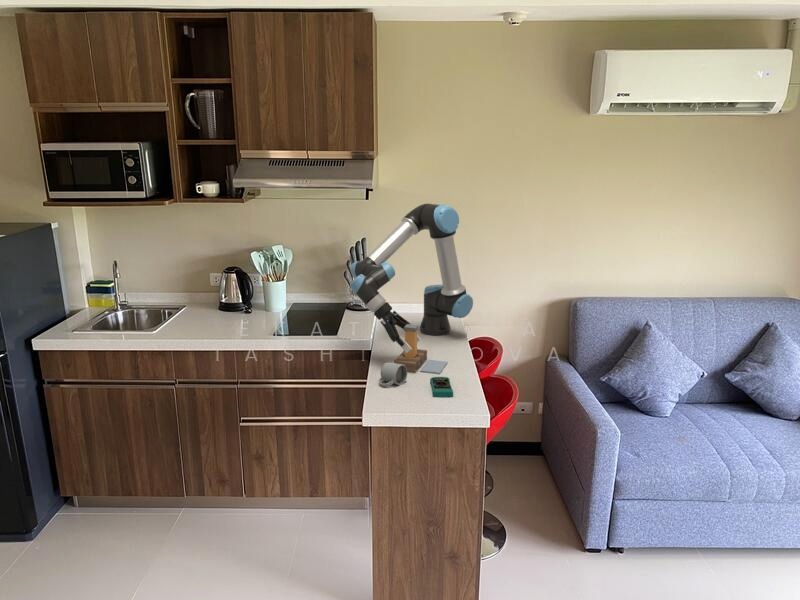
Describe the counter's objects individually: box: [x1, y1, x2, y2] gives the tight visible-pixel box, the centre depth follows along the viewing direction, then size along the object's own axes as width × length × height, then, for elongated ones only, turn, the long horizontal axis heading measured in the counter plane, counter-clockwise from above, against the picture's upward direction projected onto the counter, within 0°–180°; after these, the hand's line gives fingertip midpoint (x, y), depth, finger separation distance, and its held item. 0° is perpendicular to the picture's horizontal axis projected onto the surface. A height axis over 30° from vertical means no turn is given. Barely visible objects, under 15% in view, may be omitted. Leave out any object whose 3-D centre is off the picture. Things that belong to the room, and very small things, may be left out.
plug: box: [403, 323, 420, 358], centre depth 246 cm, size 5×5×17 cm
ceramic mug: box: [378, 362, 408, 388], centre depth 227 cm, size 11×8×8 cm
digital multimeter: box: [429, 376, 454, 398], centre depth 222 cm, size 7×15×3 cm, turn 1°
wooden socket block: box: [393, 348, 428, 374], centre depth 248 cm, size 18×9×4 cm, turn 163°
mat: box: [419, 359, 449, 375], centre depth 245 cm, size 14×8×1 cm, turn 162°
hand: (414, 346), depth 246 cm, fingers open, 13 cm apart
